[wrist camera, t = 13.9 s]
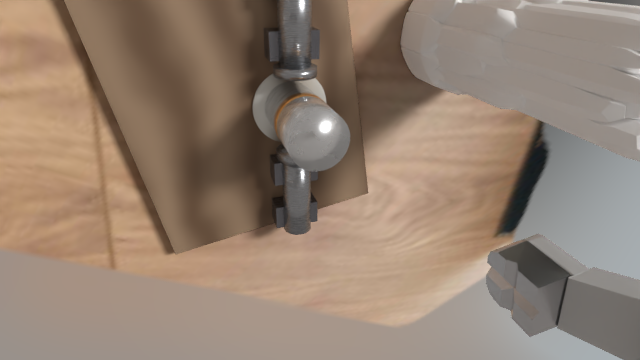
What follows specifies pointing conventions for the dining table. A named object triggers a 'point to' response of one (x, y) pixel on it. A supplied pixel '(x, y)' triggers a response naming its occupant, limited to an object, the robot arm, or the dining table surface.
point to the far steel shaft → (292, 194)
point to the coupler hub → (307, 126)
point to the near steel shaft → (293, 41)
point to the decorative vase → (536, 61)
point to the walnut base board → (213, 105)
